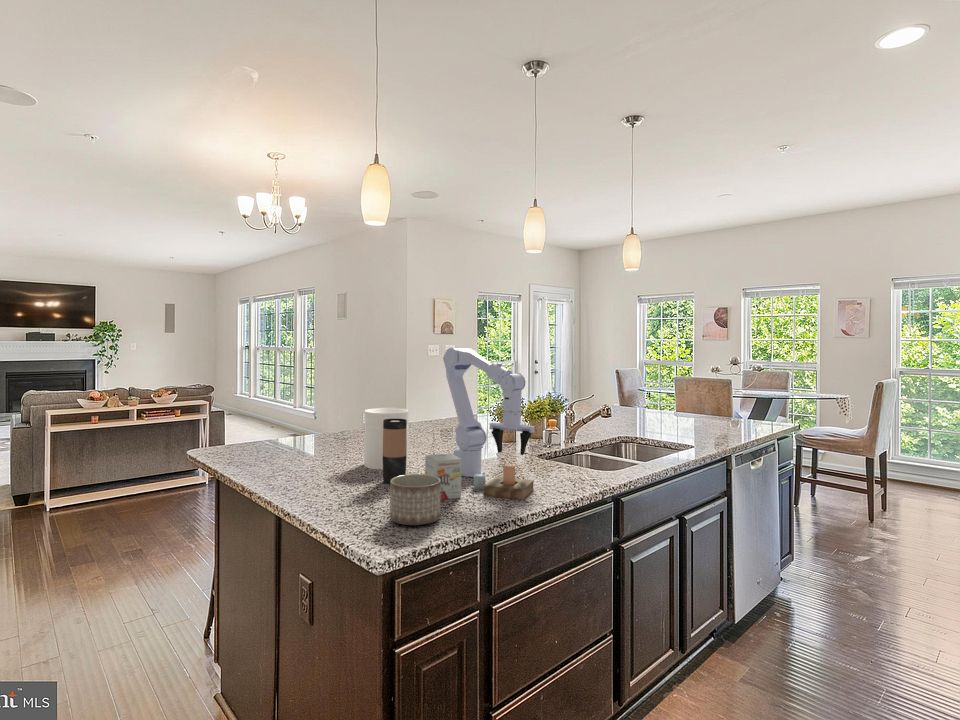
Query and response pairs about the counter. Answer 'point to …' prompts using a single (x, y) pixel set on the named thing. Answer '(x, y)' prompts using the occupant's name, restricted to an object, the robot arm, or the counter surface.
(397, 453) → the travel mug
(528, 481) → the socket block
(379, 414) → the canister
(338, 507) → the counter surface
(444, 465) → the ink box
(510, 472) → the long peg
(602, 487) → the counter surface
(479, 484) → the short peg
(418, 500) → the planter
